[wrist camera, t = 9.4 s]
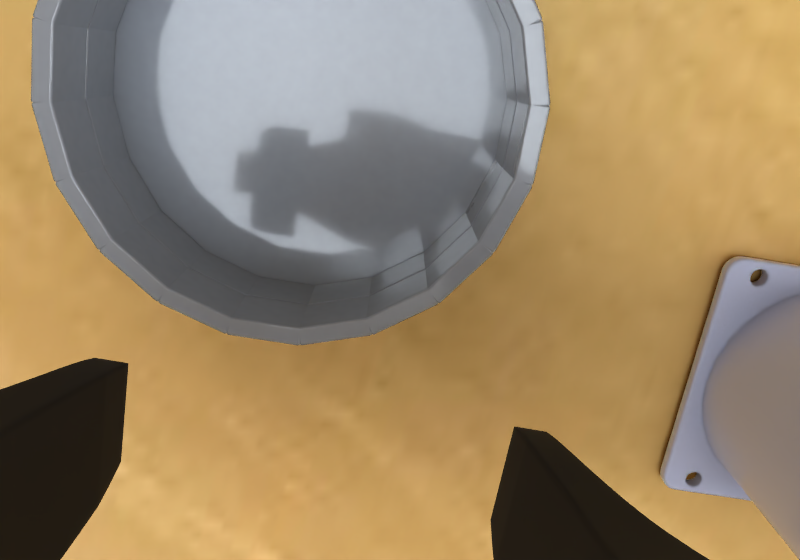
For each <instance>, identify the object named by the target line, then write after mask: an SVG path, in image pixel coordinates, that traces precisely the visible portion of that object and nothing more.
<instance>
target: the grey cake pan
mask: <svg viewBox="0 0 800 560" xmlns="http://www.w3.org/2000/svg"><path fill="white" fill-rule="evenodd" d="M33 17H34V18H33V19H32V74H31V101H32V102H33V103H32V107H33V111H34V114H35V117H36V121H37V124H38V128H39V131H40V134H41V138H42V141H43V145H44V148H45V151H46V155H47V158H48V162H49V165H50V168H51V172H52V175H53V179H54V181H55V182H56V185H57V187H58V188H59V190H60V192H61V193H62V195H63V196H64V198H65V199H66V201H67V202H68V204H69V206H70V207H71V209H72V210H73V212H74V213H75V215H76V216H77V218H78V219H79V221H80V223H81V224H82V226H83V227H84V229H85V230H86V232H87V233H88V235H89V237H90V238H91V240H92V241H93V243H94V244H95V246H96V247H97V249H100V252H101V253H102V254H103V255H104V256H105V257H106V258H108V259H109V260H110V261H111V262H112V263H113V264H114V265H116V266H117V267H118V268H119V269H120V270H121V271H123V272H124V273H125V274H126V275H127V276H128V277H129V278H131V279H132V280H133V281H134V282H135V283H136V284H137V285H139V286H140V287H141V288H142V289H143V290H144V291H145V292H147V293H148V294H149V295H150V296H151V297H152V298H153V299H155V300H156V301H159V303H160V304H163V305H165V306H167V307H169V308H171V309H173V310H175V311H178V312H180V313H182V314H184V315H186V316H188V317H190V318H193V319H195V320H197V321H199V322H201V323H203V324H205V325H208V326H210V327H212V328H214V329H216V330H218V331H220V332H223V333H227V334H228V335H234V336H240V337H247V338H253V339H260V340H267V341H273V342H280V343H286V344H293V345H307V344H314V343H321V342H328V341H335V340H342V339H349V338H356V337H363V336H370V335H372V334H376V333H378V332H380V331H382V330H385V329H387V328H389V327H391V326H393V325H395V324H397V323H399V322H402V321H404V320H406V319H408V318H410V317H412V316H414V315H416V314H419V313H421V312H423V311H425V310H427V309H429V308H431V307H433V306H436V305H437V304H438V303H440V302H442V301H443V300H444V299H445V298H446V297H447V296H448V295H449V294H450V293H451V292H452V291H453V290H455V289H456V288H457V287H458V286H459V285H460V284H461V283H462V282H463V281H464V280H465V279H466V278H468V277H469V276H470V275H471V274H472V273H473V272H474V271H475V270H476V269H477V268H478V267H480V266H481V265H482V264H483V263H484V262H485V261H486V260H487V259H488V258H489V257H490V256H491V255H492V254H493V252H495V251H496V249H497V247H498V245H499V244H500V242H501V240H502V239H503V237H504V235H505V233H506V232H507V230H508V228H509V226H510V225H511V223H512V221H513V219H514V218H515V216H516V214H517V212H518V211H519V209H520V207H521V205H522V204H523V202H524V200H525V198H526V197H527V195H528V193H529V192H530V190H531V188H532V184H533V183H534V179H535V174H536V169H537V165H538V160H539V156H540V151H541V147H542V142H543V138H544V133H545V129H546V124H547V119H548V115H549V110H550V106H549V105H550V94H549V82H548V71H547V60H546V48H545V37H544V26H543V22H542V21H541V20H542V17H541V14H540V12H539V9H538V7H537V5H536V2H535V0H38V2H37V5H36V8H35V11H34V13H33Z"/></svg>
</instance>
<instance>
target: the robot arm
mask: <svg viewBox="0 0 800 560" xmlns="http://www.w3.org/2000/svg"><path fill="white" fill-rule="evenodd" d="M758 269H761V271H762V275H761V277H760V278H759V280H757V281H755V282H751V281H750V278H751V275H752V273H753V272H754V271H756V270H758ZM127 374H128V363H123V362H117V361H111V360H105V359H98V358H92V359H88V360H84V361H80V362H77V363H74V364H71V365H68V366H65V367H62V368H59V369H57V370H54V371H51V372H48V373H46V374H43V375H40V376H37V377H35V378H32V379H29V380H26V381H23V382H21V383H18V384H15V385H12V386H9V387H7V388H4V389H1V390H0V560H60V559H61V558H62V557H63V555H64V554H65V553H66V551H67V550H68V548H69V547H70V546H71V544H72V543H73V541H74V540H75V539H76V537H77V536H78V534H79V533H80V531H81V530H82V529H83V527H84V526H85V524H86V523H87V521H88V520H89V519H90V517H91V516H92V514H93V513H94V511H95V510H96V508H97V507H98V505H99V503H100V502H101V500H102V498H103V496H104V494H105V492H106V490H107V488H108V487H109V485H110V483H111V481H112V479H113V477H114V474H115V472H116V470H117V468H118V466H119V464H120V462H121V454H122V440H123V427H124V414H125V401H126V388H127ZM692 472H697V474H696V476H695V477H694V478H692V479H688V480H687V479H686V477H687V475H688V474H690V473H692ZM660 475H661V478H662V480H663V481H664V483H665V484H666V485H667V486H668V487H669V488H672V489H675V490H682V491H689V492H696V493H702V494H709V495H716V496H723V497H730V498H736V499H743V500H750V501H752V502H753V503H754V504H755V505H756V507H757V508H758V509H759V510H760V512H761V513H762V514H763V515H764V517H765V518H766V519H767V520H768V521H769V523H770V524H771V525H772V526H773V528H774V529H775V530H776V531H777V533H778V534H779V535H780V536H781V538H782V539H783V540H784V541H785V543H786V544H787V545H788V546H789V548H790V549H791V550H792V551H793V553H794V554H795V555H796V556H797V557H798V559H799V560H800V265H794V264H788V263H782V262H776V261H769V260H763V259H757V258H751V257H745V256H736V257H734V258H731V259H729V260H728V261H727V262H726V263H725V265H724V266H723V268H722V271H721V274H720V277H719V281H718V284H717V287H716V290H715V294H714V297H713V300H712V303H711V307H710V310H709V313H708V316H707V320H706V323H705V326H704V329H703V333H702V336H701V339H700V342H699V346H698V349H697V352H696V355H695V359H694V362H693V365H692V368H691V372H690V375H689V378H688V381H687V385H686V388H685V391H684V394H683V398H682V401H681V404H680V407H679V411H678V414H677V417H676V420H675V424H674V427H673V430H672V433H671V437H670V440H669V443H668V446H667V450H666V453H665V456H664V459H663V463H662V466H661V469H660ZM491 531H492V547H493V558H494V560H709V559H707V558H706V557H704V556H703V555H701V554H699V553H698V552H696V551H694V550H693V549H691V548H690V547H688V546H687V545H685V544H684V543H682V542H681V541H679V540H678V539H676V538H675V537H673V536H672V535H670V534H669V533H667V532H666V531H665V530H663V529H662V528H660V527H659V526H658V525H656V524H655V523H654V522H652V521H651V520H649V519H648V518H647V517H646V516H644V515H643V514H642V513H641V512H639V511H638V510H637V509H636V508H634V507H633V506H632V505H630V504H629V503H628V502H627V501H625V500H624V499H623V498H622V497H621V496H620V495H618V494H617V493H616V492H615V491H614V490H612V489H611V488H610V487H609V486H608V485H607V484H605V483H604V482H603V481H602V480H601V479H600V478H599V477H598V476H596V475H595V474H594V473H593V472H592V471H591V470H590V469H589V468H588V467H587V466H585V465H584V464H583V463H582V462H581V461H580V460H579V459H578V458H577V457H576V456H574V455H573V454H572V453H571V452H570V451H569V450H568V449H567V448H566V447H565V446H563V445H562V444H561V443H560V442H559V441H558V440H556V439H555V438H554V437H553V436H551V435H550V434H549V433H547V432H544V431H538V430H532V429H526V428H520V427H514V430H513V434H512V438H511V441H510V445H509V449H508V453H507V457H506V461H505V465H504V469H503V473H502V477H501V481H500V485H499V489H498V493H497V497H496V501H495V505H494V509H493V513H492V516H491Z"/></svg>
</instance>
